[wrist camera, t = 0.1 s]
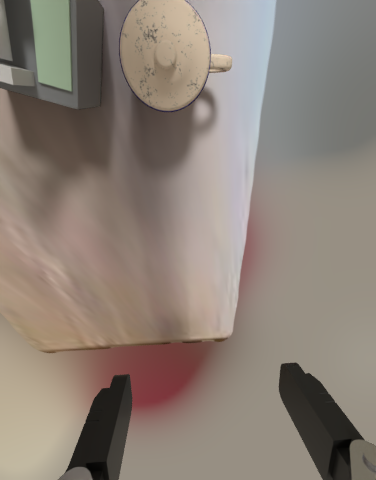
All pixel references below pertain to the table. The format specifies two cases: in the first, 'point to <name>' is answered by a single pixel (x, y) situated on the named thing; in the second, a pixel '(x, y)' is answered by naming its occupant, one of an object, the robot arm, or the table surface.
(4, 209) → the table surface
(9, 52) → the lever
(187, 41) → the teacup with lid
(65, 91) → the breaker box
